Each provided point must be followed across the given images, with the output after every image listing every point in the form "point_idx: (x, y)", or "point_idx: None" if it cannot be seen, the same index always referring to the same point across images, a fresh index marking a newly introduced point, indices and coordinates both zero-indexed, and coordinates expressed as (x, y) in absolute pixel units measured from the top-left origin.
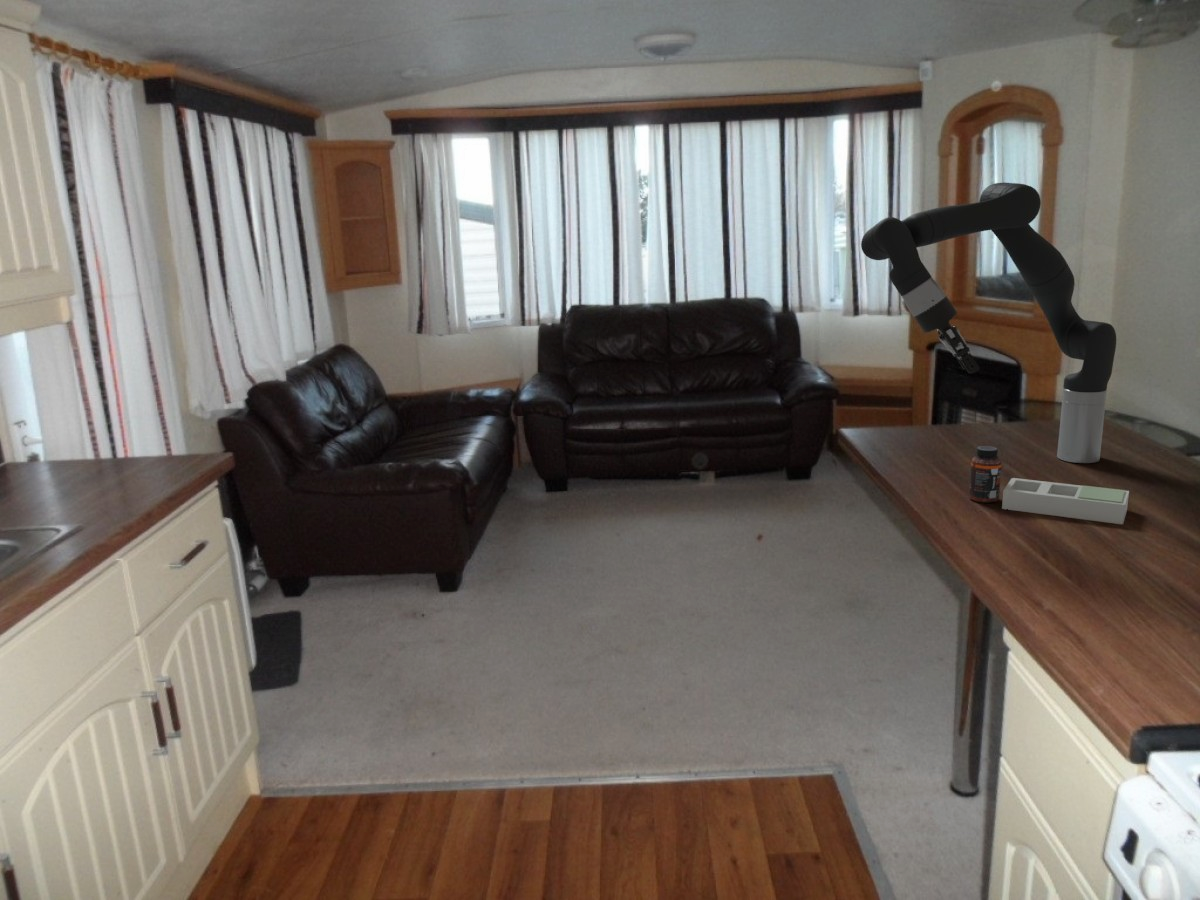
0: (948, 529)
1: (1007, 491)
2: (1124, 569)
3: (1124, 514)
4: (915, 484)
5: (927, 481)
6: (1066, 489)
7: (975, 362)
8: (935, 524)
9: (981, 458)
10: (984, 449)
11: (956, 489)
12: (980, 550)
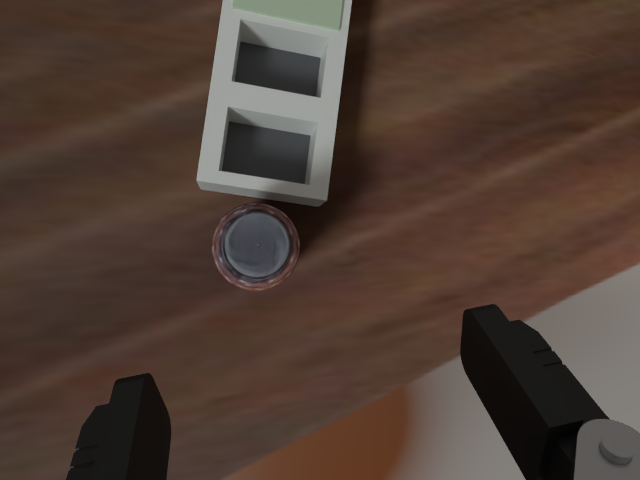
0: None
1: (327, 190)
2: (593, 4)
3: None
4: None
5: None
6: (236, 50)
7: (523, 345)
8: None
9: (286, 260)
10: (282, 252)
11: (183, 323)
12: (588, 237)
